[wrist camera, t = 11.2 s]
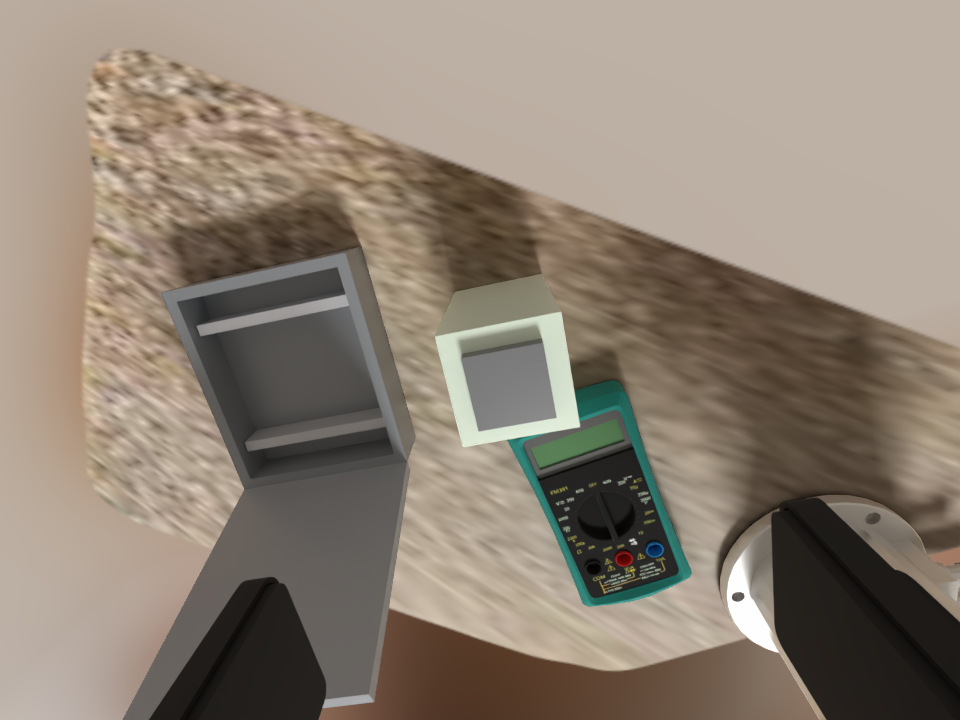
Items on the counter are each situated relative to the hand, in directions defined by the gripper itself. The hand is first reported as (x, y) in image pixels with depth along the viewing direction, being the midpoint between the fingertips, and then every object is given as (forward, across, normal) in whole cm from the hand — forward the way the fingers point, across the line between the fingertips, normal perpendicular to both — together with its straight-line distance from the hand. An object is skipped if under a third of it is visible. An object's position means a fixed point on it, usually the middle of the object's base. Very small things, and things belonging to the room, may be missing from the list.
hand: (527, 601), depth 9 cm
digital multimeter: (+21, -4, +12) cm, 24 cm away
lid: (+11, +12, +7) cm, 18 cm away
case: (+20, +12, 0) cm, 23 cm away
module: (+20, 0, 0) cm, 20 cm away
